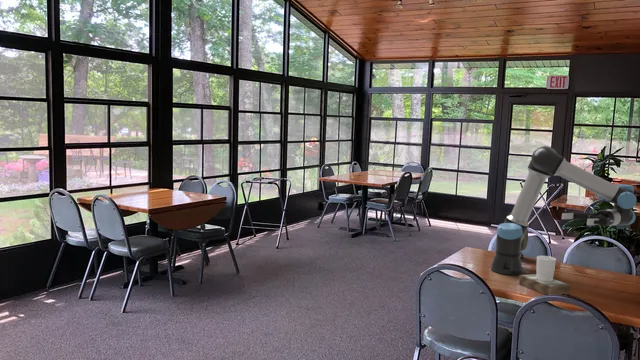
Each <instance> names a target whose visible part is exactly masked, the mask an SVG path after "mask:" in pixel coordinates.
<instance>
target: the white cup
mask: <svg viewBox="0 0 640 360" xmlns="http://www.w3.org/2000/svg"><path fill="white" fill-rule="evenodd" d="M556 261H557V259H556V258H555V257H553V256H549V255H536V264H535V265H536V266H535V267H536V269H535V271H536V273H535V274H536V278H537V279H538V280H540V281H545V282H551V281H553V279H554V275H555V268H556Z"/></svg>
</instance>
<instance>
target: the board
mask: <svg viewBox="0 0 640 360" xmlns="http://www.w3.org/2000/svg"><path fill="white" fill-rule="evenodd" d="M536 274H537V273H533V274H520V275H519V279H518V280H519V281H518V285H520V286H523V287H526V288H528V289H530V290H534V291H535V292H538V293H541V294H544V295H545V294H565V295H570V287H571V284H568V283H565V282H563V281H560V280H557V279H554V278H553V281H551V282H545V281H540V280H538V279H537V278H536Z"/></svg>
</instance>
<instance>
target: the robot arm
mask: <svg viewBox="0 0 640 360" xmlns="http://www.w3.org/2000/svg"><path fill="white" fill-rule="evenodd" d="M527 171H528V173H527V176H526V178H525V181H524V184H523V186H522V188H521V190H520V192H519V195H518V197H517V199H516V202H515V203H514V206H513V208H512V211H511V212H512V213H511V212H510V213H511V214H509V216H508V215H507V216H506V218H505V219H504V221H503V223H499V224H498V226H497V228H496V243H495V255H494V257H493V259H492V262H491V264H490V270H491V271H492V272H494V273H497V274H501V275H507V276H508V275H509V276H517V275H518V276H521V275H523V273H524V271H523V270H524V268H523V266H522V265H523V264H522V260H521V254H520V251H521V242H522V240H523V238H524V236H525V233H526V231H527V229H529V222H528V220H529V219H530V217H531V216H530V215H532V214H531V213H532V211H533V209H534V208H535V205H536V202H537V200H538V197H539V196H540V193H541V191H542V190H543V189H542V188H543V186H544V184H545V183H546V179H548V178H551V177H552V176H559V177H561V178H562V179H564V180H566V181H569V182H571V183H573V184H574V185H577V186H579V187H581V188H583V189H586V191H589V192H591V193H593V194H595V195H597V196H599V197H601V198H603V199H605V200H607V201H609V202H611V203H613V209H600V210H598V211H596V212H595V213H594V212H593V213H589V212H576V211H575V212H574V211H568V213H567V212H562V214H561V220H570V221H571V220H573V219H576V220H585V221H586V226H601V227H608V226H609V227H610V228H611V227H612V226H628V225H631V224H633V223H635V221H636V218H637V216H636V214H635V211H633V208H634V207H635V206H636V204H637V196H636V195H635V194H634V193H635V187H634V186H633V185H631V184H624V183H623V184H622V183H621V184H619V183H617V184H614V183H612V182H610V181H608V180H605V178H602V177H600V176H597V175H595V174H593V173H591V172H590V171H587V170H586V169H583V168H581V167H579V166H577V165H575V164H573V163H571V162H570V161H569V162H568V161H567V159H566V158H565V157H563V156H561V155H560V154H558V152H557V150H555V148H553V147H551V146H548V145H546V146H545V145H544V146H540V147H538V148H537V149H535V150H534V151H533V153H532V155H531V158H530V161H529V164H528V165H527ZM521 252H522V251H521Z"/></svg>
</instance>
